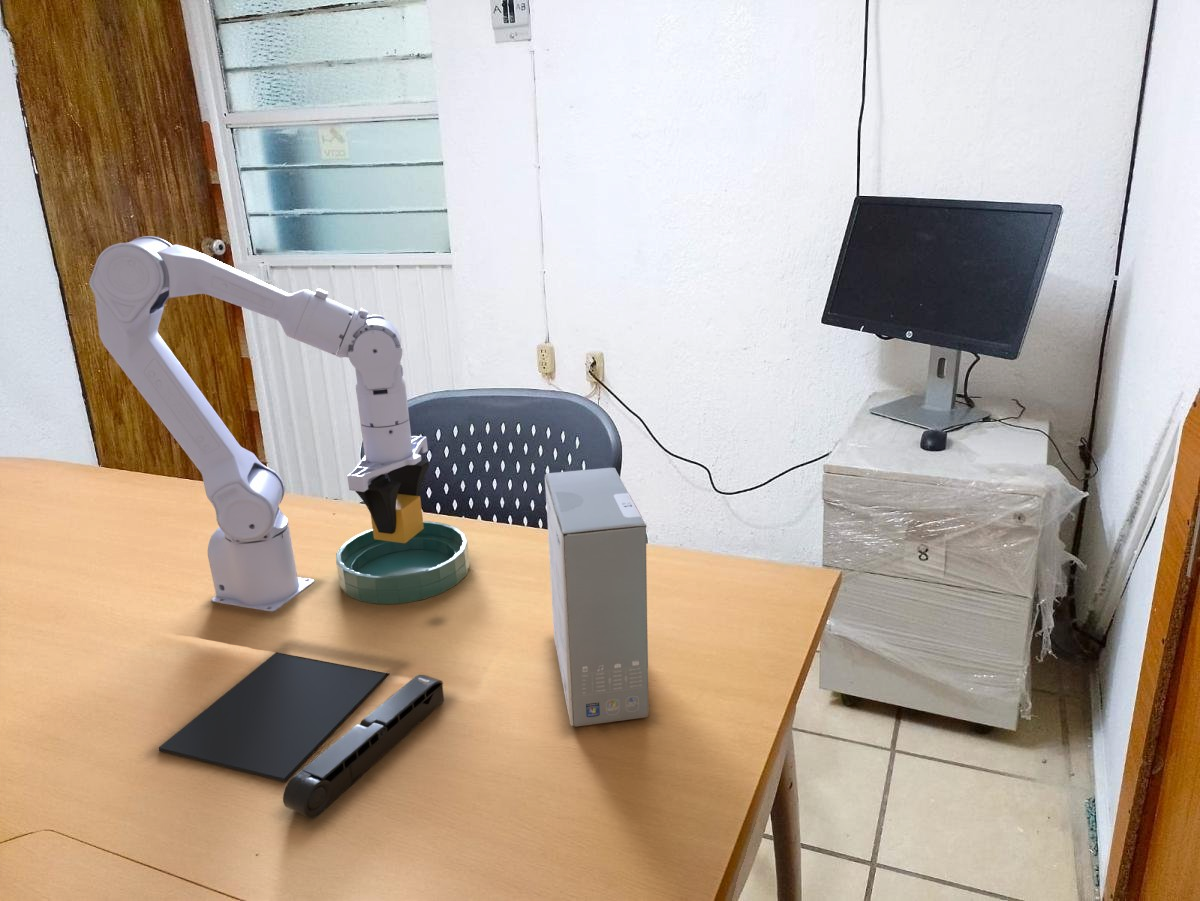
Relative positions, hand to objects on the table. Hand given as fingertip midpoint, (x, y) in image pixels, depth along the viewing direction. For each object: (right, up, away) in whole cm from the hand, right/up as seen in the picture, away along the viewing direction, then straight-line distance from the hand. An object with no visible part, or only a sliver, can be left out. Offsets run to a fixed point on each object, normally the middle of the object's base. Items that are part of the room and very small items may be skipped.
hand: (397, 523), depth 104 cm
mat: (-6, -16, -22) cm, 28 cm away
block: (0, -1, 0) cm, 1 cm away
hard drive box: (+25, -14, -19) cm, 35 cm away
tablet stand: (+5, -18, -29) cm, 35 cm away
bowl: (0, -7, +3) cm, 8 cm away
